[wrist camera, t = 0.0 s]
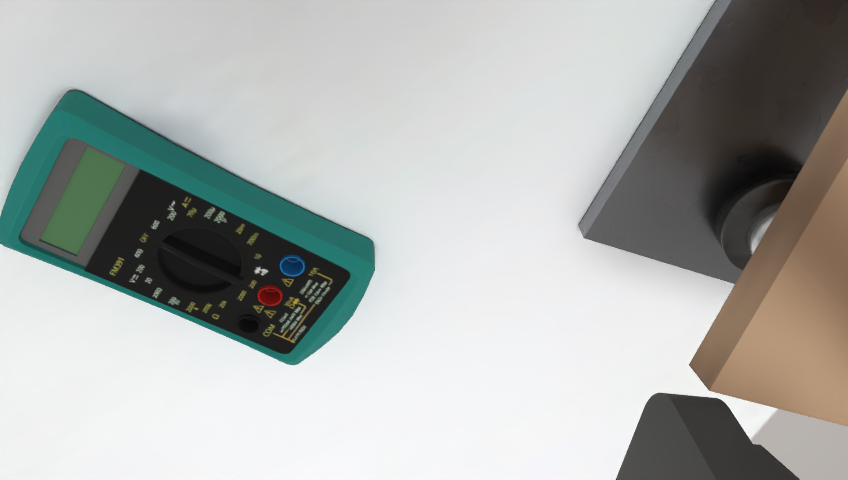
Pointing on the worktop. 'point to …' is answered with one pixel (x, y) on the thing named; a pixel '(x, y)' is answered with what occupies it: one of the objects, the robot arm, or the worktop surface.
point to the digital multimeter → (182, 233)
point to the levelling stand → (726, 135)
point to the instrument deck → (792, 298)
